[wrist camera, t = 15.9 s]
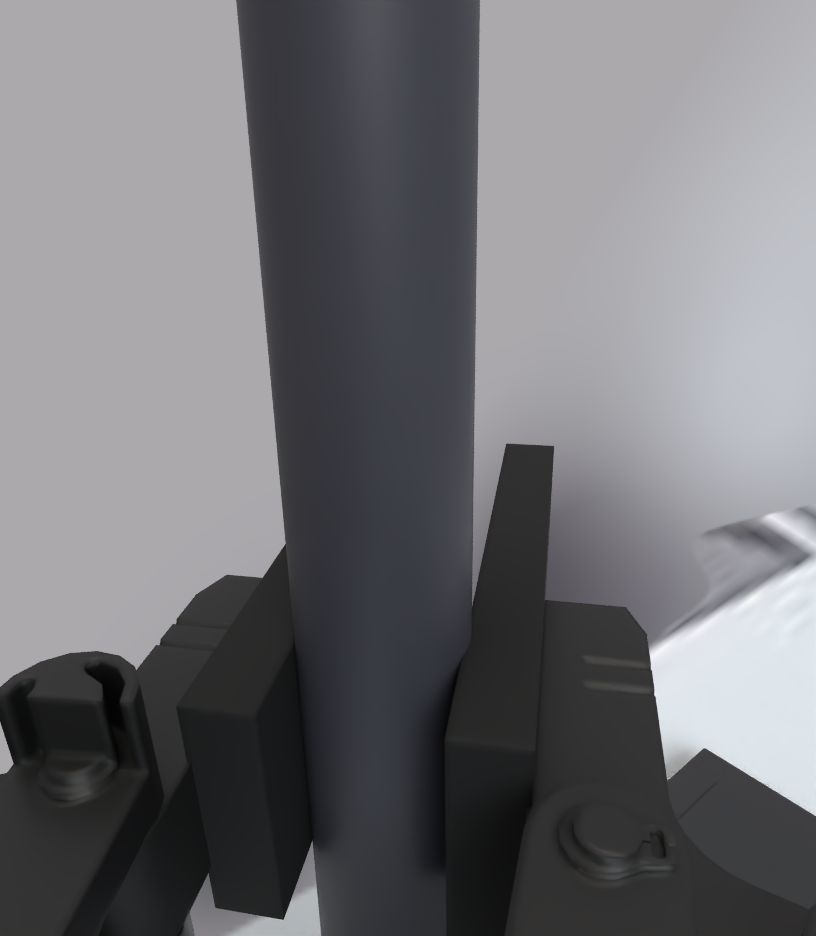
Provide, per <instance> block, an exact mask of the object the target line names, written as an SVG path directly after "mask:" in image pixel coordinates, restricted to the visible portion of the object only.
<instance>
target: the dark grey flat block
mask: <svg viewBox="0 0 816 936" xmlns="http://www.w3.org/2000/svg"><path fill="white" fill-rule="evenodd" d="M667 784H668V792H669V798H670V801H671V805H672V808H673V811H674V815H675V817H676V819H677V820H678V822H679V824H680V825H681V827H682V829H683V830H684V832H685V834H686V835H687V836H688V837H689V839H690V840H691V841H692V842H693V843H694V844H695V845H696V846H697V847H698V848H699V849H700V851H701V852H702V853H703V854H704V855H706V856H707V857H708V858H710V859H711V860H712V861H714V862H715V863H716V864H717V865H719V866H720V867H721V868H723V869H724V870H725V871H727V872H729V873H731V874H733V875H734V876H736V877H738V878H740V879H742V880H744V881H746V882H748V883H750V884H752V885H754V886H756V887H758V888H761V889H763V890H765V891H768V892H770V893H772V894H775V895H777V896H779V897H782V898H784V899H786V900H789V901H791V902H794V903H796V904H798V905H801V906H803V907H805V908H808V909H810V908H811V907H812V906H813V905H815V904H816V816H814V815H813V814H811V813H809V812H808V811H806V810H805V809H803V808H801V807H800V806H798V805H796V804H795V803H793V802H792V801H790V800H788V799H787V798H785V797H783V796H782V795H780V794H779V793H777V792H775V791H774V790H772V789H770V788H769V787H767V786H766V785H764V784H762V783H761V782H759V781H757V780H756V779H754V778H753V777H751V776H749V775H748V774H746V773H744V772H743V771H741V770H740V769H738V768H736V767H735V766H733V765H731V764H730V763H728V762H727V761H725V760H723V759H722V758H720V757H718V756H717V755H715V754H714V753H712V752H710V751H709V750H707V749H705V748H704V749H703V750H701V751H700V752H699V753H698V754H697V755H696V756H695V757H694V758H693V759H692V760H690V761H689V762H688V763H687V764H686V765H685V766H684V767H683V768H682V769H681V770H679V771H678V772H677V773H676V774H675V775H674V776H673V777H672V778H671V779H670V780H668V781H667Z"/></svg>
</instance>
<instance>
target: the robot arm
mask: <svg viewBox="0 0 816 936" xmlns="http://www.w3.org/2000/svg"><path fill="white" fill-rule="evenodd" d="M553 454H554V446H542V445H541V446H540V445H521V444H506V448H505V453H504V457H503V462H502V467H501V472H500V476H499V482H498V486H497V491H496V496H495V500H494V505H493V510H492V515H491V520H490V524H489V529H488V534H487V539H486V544H485V549H484V554H483V558H482V563H481V567H480V572H479V577H478V582H477V587H476V592H475V596H474V601H473V606H472V630H471V640H470V644H469V646H468V648H467V650H466V652H465V654H464V655H463V656H462V658H461V663H460V668H459V673H458V678H457V682H456V687H455V692H454V697H453V702H452V706H451V711H450V716H449V721H448V725H447V730H446V735H445V843H446V936H816V904H815V905H813V906H812V907H811V908H810V909H808V908H805V907H803V906H801V905H798V904H796V903H794V902H791V901H789V900H786V899H784V898H782V897H779V896H777V895H775V894H772V893H770V892H768V891H765V890H763V889H761V888H758V887H756V886H754V885H752V884H750V883H748V882H746V881H744V880H742V879H740V878H738V877H736V876H734V875H733V874H731V873H729V872H727V871H725V870H724V869H723V868H721V867H720V866H719V865H717V864H716V863H715V862H714V861H712V860H711V859H710V858H708V857H707V856H706V855H704V854H703V853H702V852H701V851H700V849H699V848H698V847H697V846H696V845H695V844H694V843H693V842H692V841H691V840H690V839H689V837H688V836H687V835H686V834H685V832H684V830H683V829H682V827H681V825H680V824H679V822H678V820H677V819H676V817H675V815H674V811H673V808H672V805H671V801H670V798H669V792H668V784H667V777H666V770H665V763H664V756H663V748H662V741H661V734H660V727H659V720H658V712H657V705H656V698H655V696H654V684H653V677H652V670H651V662H650V655H649V648H648V641H647V634H646V633H645V631H644V630H643V629H642V628H641V626H640V625H639V624H638V622H637V621H636V620H635V619H634V617H633V616H632V615H631V613H630V612H629V611H628V610H627V608H626V607H617V606H606V605H594V604H583V603H571V602H560V601H549V600H545V596H546V578H547V560H548V543H549V526H550V508H551V490H552V472H553ZM0 722H1V726H2V729H3V732H4V735H5V738H6V741H7V744H8V747H9V750H10V753H11V756H12V760H13V763H14V764H13V766H12V767H11V768H10V770H9V771H8V772H7V773H5V774H0V936H194V930H193V925H192V921H191V916H190V910H191V907H192V905H193V903H194V901H195V899H196V897H197V895H198V893H199V891H200V889H201V887H202V885H203V883H204V881H205V879H206V877H207V875H208V872H209V877H210V882H211V887H212V892H213V898H214V903H215V907H216V908H219V909H225V910H231V911H236V912H243V913H248V914H253V915H259V916H265V917H270V918H276V919H282V920H284V917H285V915H286V912H287V909H288V906H289V904H290V901H291V898H292V895H293V892H294V890H295V887H296V884H297V881H298V879H299V876H300V873H301V870H302V867H303V864H304V862H305V859H306V856H307V854H308V851H309V848H310V845H311V842H312V840H313V838H312V827H311V816H310V805H309V794H308V783H307V772H306V761H305V750H304V739H303V728H302V717H301V706H300V695H299V684H298V673H297V662H296V651H295V640H294V629H293V618H292V607H291V596H290V585H289V574H288V563H287V552H286V544H285V546H284V547H283V549H282V550H281V552H280V553H279V555H278V556H277V557H276V559H275V560H274V562H273V563H272V565H271V566H270V568H269V570H268V571H267V573H266V574H265V575H264V577H263V578H256V577H245V576H234V575H226V576H224V577H223V578H221V579H220V580H218V581H217V582H215V583H214V584H212V585H210V586H209V587H207V588H206V589H204V590H203V591H201V592H199V593H198V594H196V595H195V597H194V598H193V599H192V601H191V602H190V603H189V604H188V606H187V607H186V608H185V609H184V611H183V612H182V613H181V614H180V616H179V617H178V618H177V623H176V624H173V625H172V626H171V627H170V628H169V630H168V631H167V632H166V634H165V635H164V636H163V637H162V638H161V642H160V645H156V646H155V647H154V649H153V650H152V651H151V652H150V654H149V655H148V656H147V657H146V659H145V660H144V661H143V663H142V664H141V665H140V666H139V668H138V669H137V670H136V669H135V667H134V666H133V665H132V664H130V663H129V662H128V661H126V660H125V659H124V658H122V657H121V656H118V655H113V654H108V653H103V652H98V651H94V652H81V653H69V654H66V655H62V656H59V657H56V658H52V659H48V660H45V661H42V662H39V663H37V664H36V665H34V666H32V667H30V668H28V669H26V670H24V671H22V672H20V673H19V674H16V675H14V676H13V677H12V678H10V679H9V680H8V681H7V682H6V683H4V684H3V685H2V686H1V687H0Z"/></svg>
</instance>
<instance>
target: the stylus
mask: <svg viewBox="0 0 816 936" xmlns="http://www.w3.org/2000/svg"><path fill="white" fill-rule="evenodd" d="M236 2H237V12H238V24H239V34H240V46H241V57H242V68H243V79H244V90H245V101H246V111H247V122H248V134H249V145H250V156H251V167H252V177H253V189H254V200H255V211H256V222H257V232H258V244H259V255H260V266H261V277H262V288H263V298H264V310H265V321H266V332H267V343H268V354H269V364H270V376H271V387H272V397H273V409H274V419H275V430H276V442H277V453H278V463H279V475H280V486H281V497H282V507H283V519H284V530H285V541H286V552H287V563H288V574H289V585H290V596H291V607H292V618H293V629H294V640H295V651H296V662H297V673H298V684H299V695H300V706H301V717H302V728H303V739H304V750H305V761H306V772H307V783H308V794H309V805H310V816H311V827H312V838H313V848H314V860H315V870H316V882H317V893H318V904H319V915H320V926H321V936H446V843H445V735H446V730H447V725H448V721H449V716H450V711H451V706H452V702H453V697H454V692H455V687H456V682H457V678H458V673H459V668H460V663H461V658H462V656H463V655H464V654H465V652H466V650H467V648H468V646H469V644H470V640H471V630H472V553H473V477H474V476H473V475H474V470H473V469H474V399H475V324H476V320H475V319H476V247H477V245H476V243H477V173H478V170H477V169H478V96H479V94H478V93H479V19H480V0H236Z"/></svg>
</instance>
